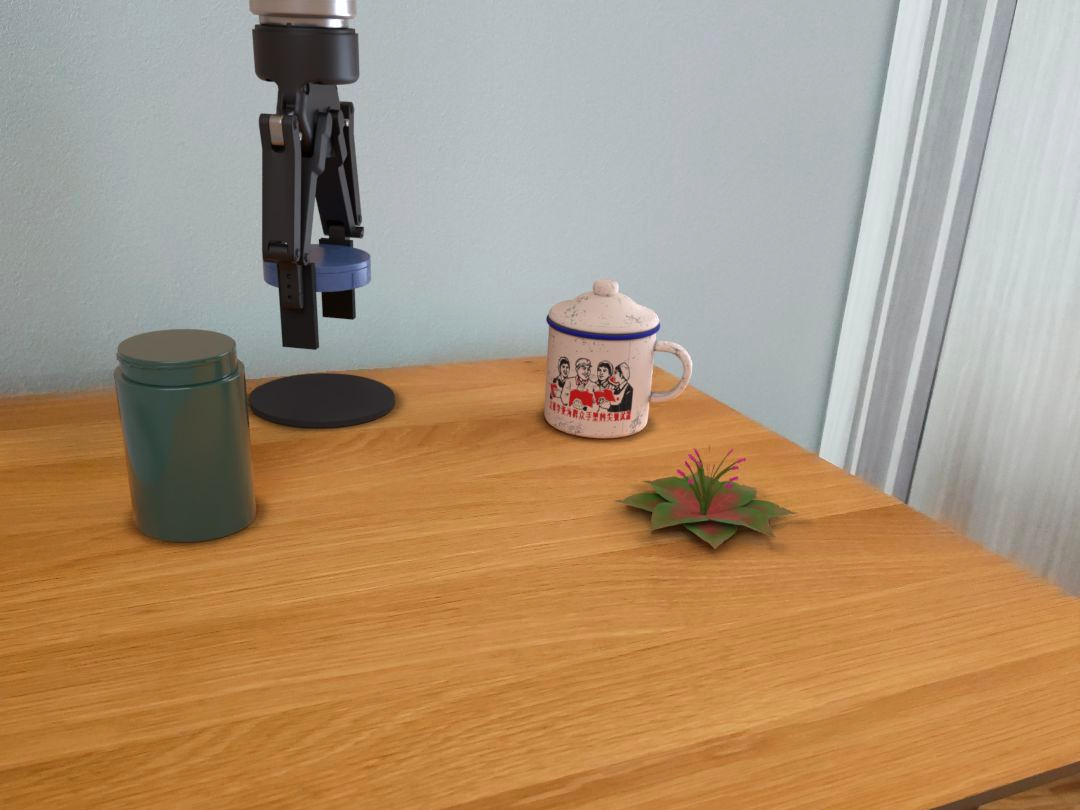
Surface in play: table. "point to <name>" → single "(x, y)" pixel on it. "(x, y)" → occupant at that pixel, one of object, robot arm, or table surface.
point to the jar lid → (332, 268)
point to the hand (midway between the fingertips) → (320, 331)
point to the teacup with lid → (604, 364)
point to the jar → (185, 434)
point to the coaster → (321, 400)
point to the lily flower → (706, 504)
